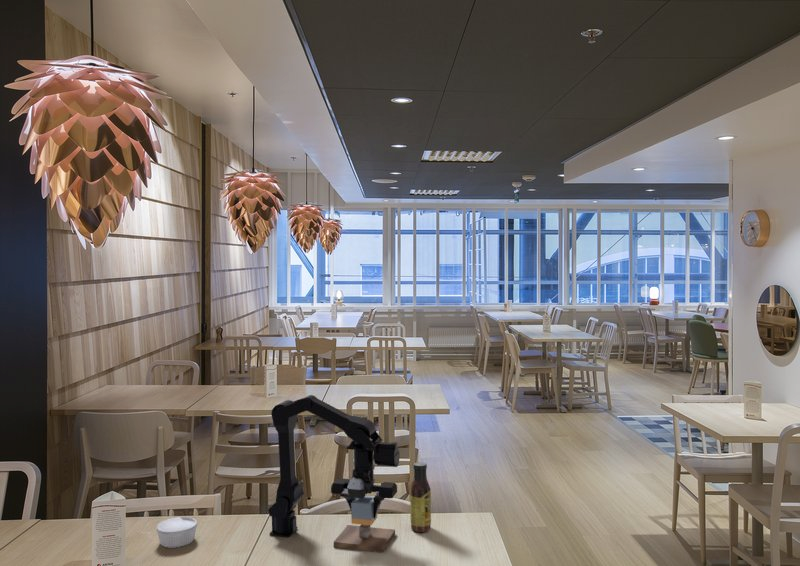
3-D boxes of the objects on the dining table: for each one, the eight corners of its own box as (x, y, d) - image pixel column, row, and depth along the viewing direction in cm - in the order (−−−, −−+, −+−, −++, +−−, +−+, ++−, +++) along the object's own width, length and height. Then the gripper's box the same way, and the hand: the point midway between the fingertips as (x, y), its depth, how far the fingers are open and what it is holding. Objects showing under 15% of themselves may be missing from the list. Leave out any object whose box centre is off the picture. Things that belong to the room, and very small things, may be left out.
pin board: (333, 547, 181) (333, 528, 181) (347, 529, 193) (347, 512, 193) (383, 552, 177) (383, 533, 177) (395, 534, 189) (394, 517, 189)
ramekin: (205, 537, 189) (205, 519, 189) (177, 553, 179) (177, 534, 179) (177, 530, 194) (176, 514, 194) (148, 546, 184) (148, 528, 184)
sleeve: (351, 523, 183) (351, 502, 183) (358, 515, 189) (357, 495, 188) (371, 525, 181) (370, 504, 181) (377, 517, 187) (377, 497, 187)
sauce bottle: (429, 533, 189) (428, 468, 189) (408, 532, 190) (407, 467, 190) (432, 524, 196) (431, 461, 195) (412, 523, 197) (411, 460, 196)
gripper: (323, 470, 179) (324, 525, 180) (386, 475, 174) (387, 531, 175) (337, 458, 190) (338, 510, 190) (397, 463, 185) (398, 515, 185)
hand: (364, 516), depth 185 cm, fingers closed on sleeve, 6 cm apart
